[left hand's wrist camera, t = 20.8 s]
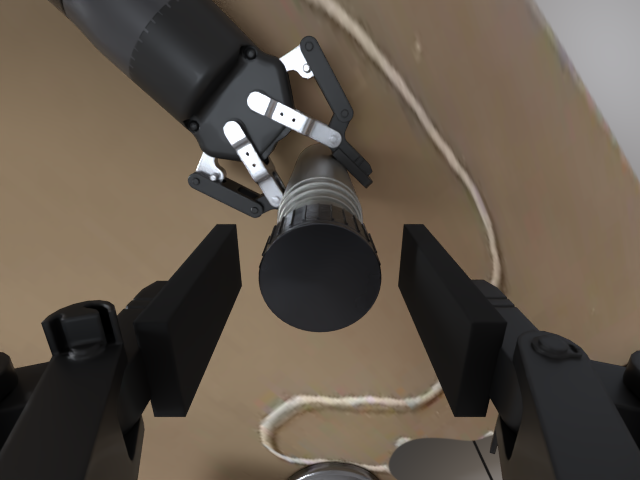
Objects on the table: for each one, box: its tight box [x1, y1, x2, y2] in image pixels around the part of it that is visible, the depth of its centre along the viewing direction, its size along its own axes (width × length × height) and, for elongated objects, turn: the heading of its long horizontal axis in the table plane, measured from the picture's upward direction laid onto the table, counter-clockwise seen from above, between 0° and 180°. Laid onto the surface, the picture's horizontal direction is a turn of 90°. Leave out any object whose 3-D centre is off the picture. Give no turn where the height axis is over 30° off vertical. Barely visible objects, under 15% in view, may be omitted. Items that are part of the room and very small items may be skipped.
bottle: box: [277, 144, 363, 224], centre depth 23 cm, size 4×4×22 cm
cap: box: [259, 203, 381, 332], centre depth 13 cm, size 4×4×2 cm
